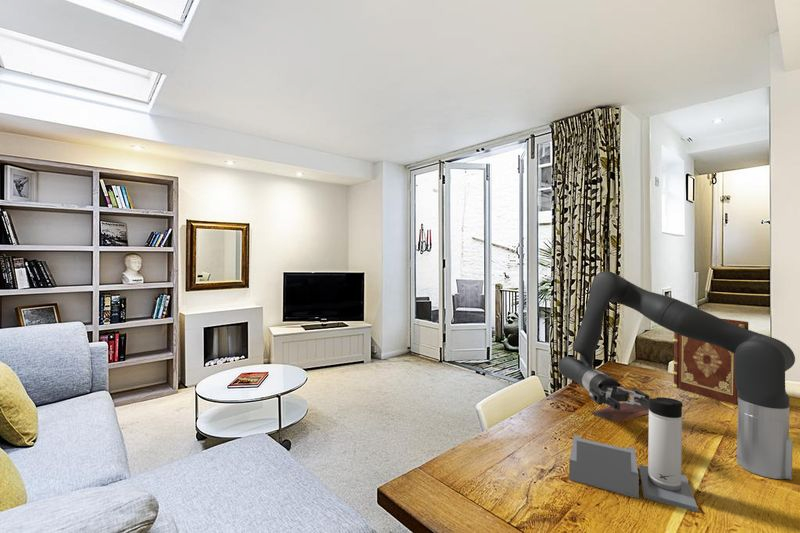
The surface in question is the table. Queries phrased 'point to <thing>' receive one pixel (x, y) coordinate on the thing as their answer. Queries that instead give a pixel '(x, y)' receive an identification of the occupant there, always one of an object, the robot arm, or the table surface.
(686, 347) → the decorative book
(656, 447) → the travel mug
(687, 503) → the slate tile
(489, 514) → the table surface
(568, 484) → the table surface
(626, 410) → the wooden tablet
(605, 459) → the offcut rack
